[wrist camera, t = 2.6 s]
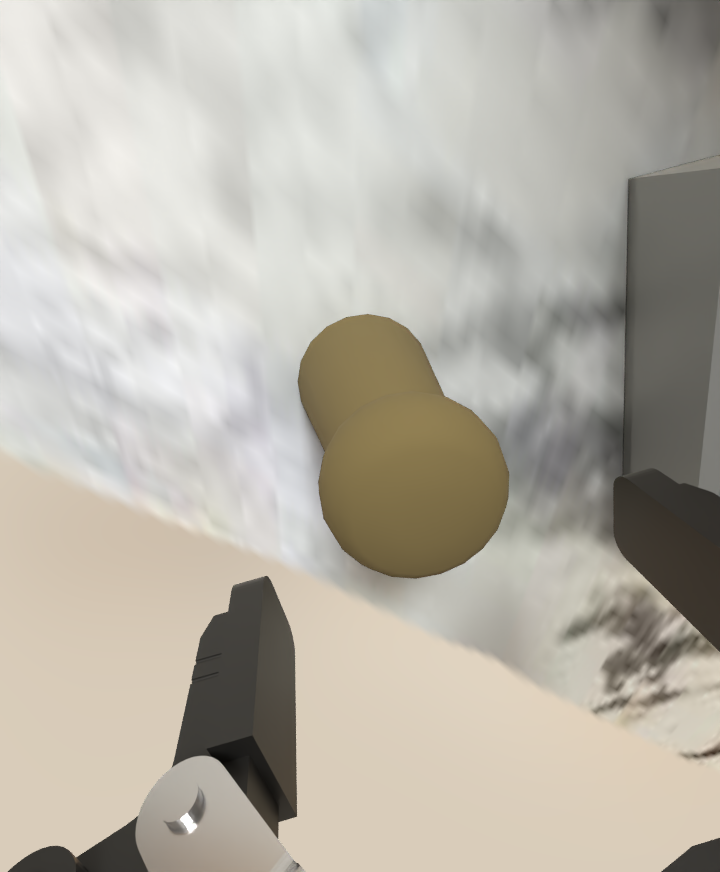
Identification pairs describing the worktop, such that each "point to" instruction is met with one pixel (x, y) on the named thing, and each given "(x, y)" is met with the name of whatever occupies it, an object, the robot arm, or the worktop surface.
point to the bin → (674, 324)
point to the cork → (398, 452)
